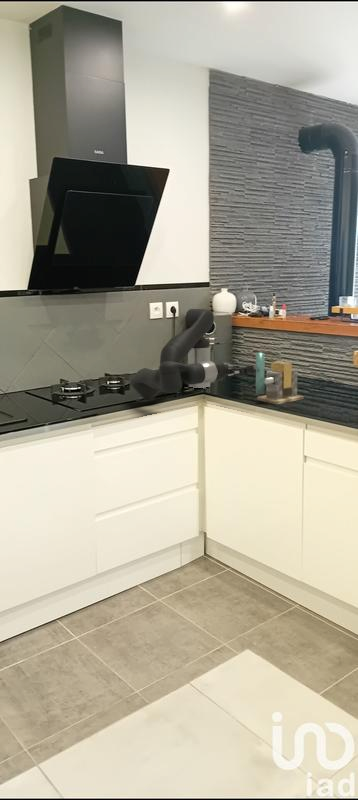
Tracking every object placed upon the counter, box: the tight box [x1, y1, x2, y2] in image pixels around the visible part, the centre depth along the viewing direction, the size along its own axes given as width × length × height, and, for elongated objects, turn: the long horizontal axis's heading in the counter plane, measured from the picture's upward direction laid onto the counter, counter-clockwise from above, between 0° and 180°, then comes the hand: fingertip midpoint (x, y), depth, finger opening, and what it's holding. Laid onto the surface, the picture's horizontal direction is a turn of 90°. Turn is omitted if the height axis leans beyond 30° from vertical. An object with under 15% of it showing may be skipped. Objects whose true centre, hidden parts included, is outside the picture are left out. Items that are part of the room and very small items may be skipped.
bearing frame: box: [256, 368, 304, 405], centre depth 237 cm, size 14×11×11 cm
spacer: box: [270, 360, 293, 389], centre depth 236 cm, size 4×7×9 cm, turn 35°
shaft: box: [255, 351, 275, 395], centre depth 234 cm, size 18×3×15 cm, turn 125°
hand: (245, 366), depth 224 cm, fingers open, 8 cm apart
